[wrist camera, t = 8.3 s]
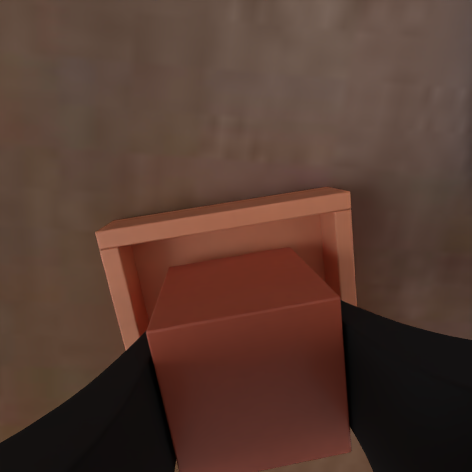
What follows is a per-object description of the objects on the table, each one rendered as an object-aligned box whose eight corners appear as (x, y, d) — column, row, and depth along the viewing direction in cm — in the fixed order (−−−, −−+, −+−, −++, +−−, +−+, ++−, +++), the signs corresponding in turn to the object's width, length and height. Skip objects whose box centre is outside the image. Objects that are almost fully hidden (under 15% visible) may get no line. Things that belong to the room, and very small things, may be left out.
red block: (302, 353, 12) (352, 453, 8) (190, 373, 12) (182, 488, 8) (290, 246, 11) (341, 297, 7) (168, 266, 11) (144, 331, 7)
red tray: (341, 370, 14) (363, 403, 12) (157, 405, 14) (149, 445, 12) (327, 186, 12) (351, 191, 10) (112, 220, 12) (94, 231, 10)
